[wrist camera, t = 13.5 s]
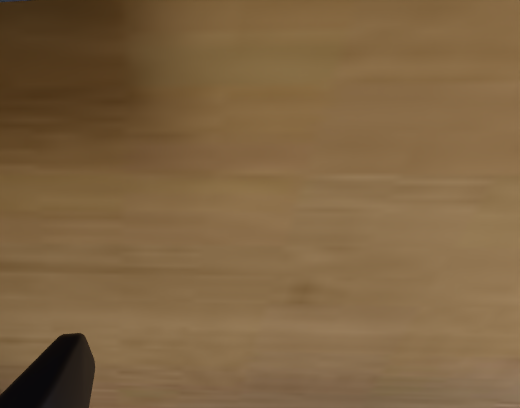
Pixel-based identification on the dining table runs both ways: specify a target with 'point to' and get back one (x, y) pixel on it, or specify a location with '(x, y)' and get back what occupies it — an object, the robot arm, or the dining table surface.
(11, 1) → the bin
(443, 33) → the dining table surface
